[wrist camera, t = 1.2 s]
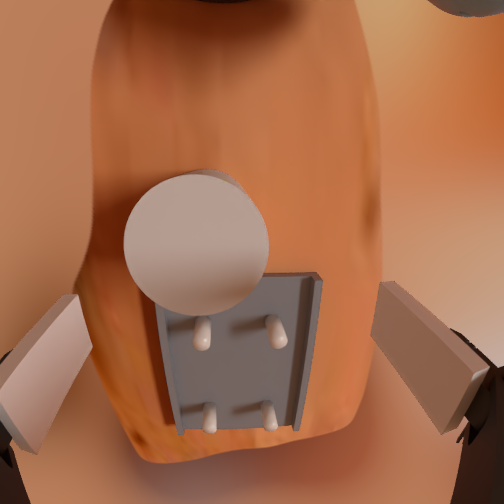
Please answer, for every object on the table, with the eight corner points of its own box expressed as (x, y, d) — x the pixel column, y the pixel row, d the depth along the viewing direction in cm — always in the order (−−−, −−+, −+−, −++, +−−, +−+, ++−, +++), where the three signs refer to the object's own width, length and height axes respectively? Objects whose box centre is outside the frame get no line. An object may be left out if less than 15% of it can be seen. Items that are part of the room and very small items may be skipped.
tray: (157, 273, 29) (145, 295, 24) (316, 272, 31) (332, 292, 26) (179, 423, 35) (176, 450, 31) (295, 419, 37) (303, 445, 32)
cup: (263, 233, 29) (290, 281, 17) (187, 268, 29) (167, 334, 18) (227, 154, 26) (231, 148, 15) (148, 193, 27) (99, 216, 15)
